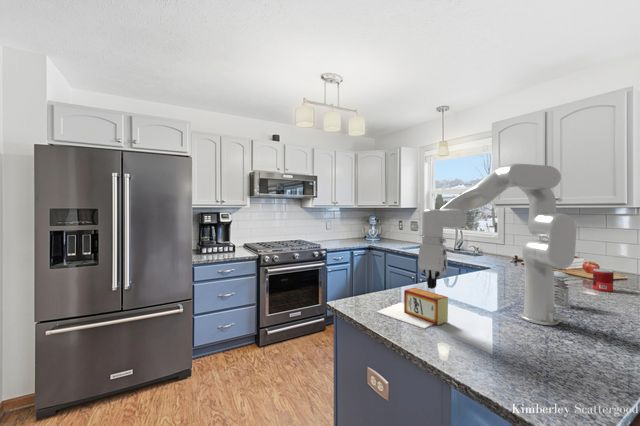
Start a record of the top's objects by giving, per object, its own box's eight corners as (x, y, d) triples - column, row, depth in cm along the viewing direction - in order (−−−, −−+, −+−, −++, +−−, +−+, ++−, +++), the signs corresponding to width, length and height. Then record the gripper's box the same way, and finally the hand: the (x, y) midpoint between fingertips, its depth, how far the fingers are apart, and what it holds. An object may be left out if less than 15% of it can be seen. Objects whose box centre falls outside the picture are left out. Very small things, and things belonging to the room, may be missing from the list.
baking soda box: (437, 325, 110) (403, 312, 123) (447, 321, 113) (413, 309, 126) (437, 300, 109) (403, 289, 123) (448, 297, 113) (413, 287, 126)
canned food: (617, 292, 154) (617, 271, 154) (602, 292, 154) (602, 271, 154) (603, 288, 162) (603, 268, 161) (588, 288, 162) (589, 268, 162)
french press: (569, 309, 128) (570, 252, 127) (536, 302, 137) (537, 249, 136) (573, 304, 134) (574, 250, 134) (542, 298, 143) (543, 247, 142)
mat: (447, 316, 119) (447, 315, 119) (424, 329, 107) (424, 327, 107) (400, 303, 135) (400, 302, 135) (376, 312, 123) (376, 311, 123)
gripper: (456, 242, 111) (455, 290, 111) (419, 238, 122) (419, 282, 122) (446, 243, 106) (446, 294, 106) (410, 239, 117) (409, 285, 117)
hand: (431, 287), depth 114 cm, fingers closed
